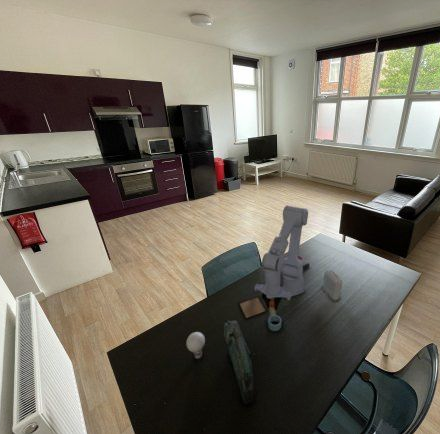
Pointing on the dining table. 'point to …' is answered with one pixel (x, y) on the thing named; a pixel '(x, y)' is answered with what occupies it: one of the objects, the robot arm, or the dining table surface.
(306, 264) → the calculator
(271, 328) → the teal ring
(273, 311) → the marker
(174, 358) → the dining table surface
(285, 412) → the dining table surface
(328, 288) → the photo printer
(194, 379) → the dining table surface
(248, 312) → the coaster
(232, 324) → the dark teal slab
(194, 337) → the lightbulb
